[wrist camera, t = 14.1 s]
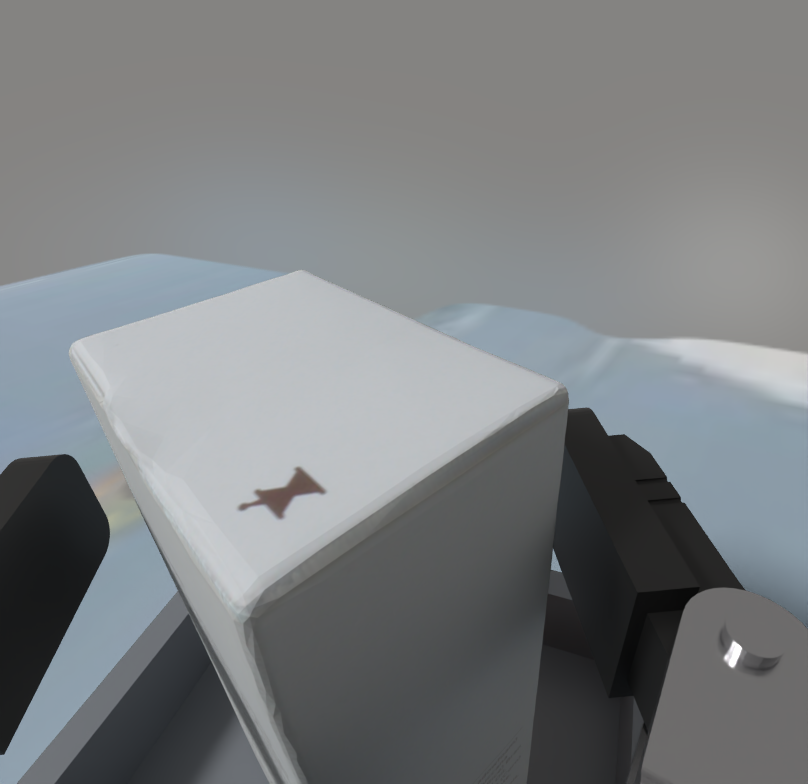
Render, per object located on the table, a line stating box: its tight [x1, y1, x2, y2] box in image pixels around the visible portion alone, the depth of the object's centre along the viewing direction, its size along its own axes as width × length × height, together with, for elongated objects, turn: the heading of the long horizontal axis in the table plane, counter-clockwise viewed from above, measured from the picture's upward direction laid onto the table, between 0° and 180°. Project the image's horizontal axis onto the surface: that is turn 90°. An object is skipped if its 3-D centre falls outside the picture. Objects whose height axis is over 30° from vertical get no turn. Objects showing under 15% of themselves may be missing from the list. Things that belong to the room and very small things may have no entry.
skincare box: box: [69, 270, 569, 784], centre depth 10 cm, size 6×4×12 cm
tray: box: [17, 570, 644, 784], centre depth 13 cm, size 11×13×3 cm
